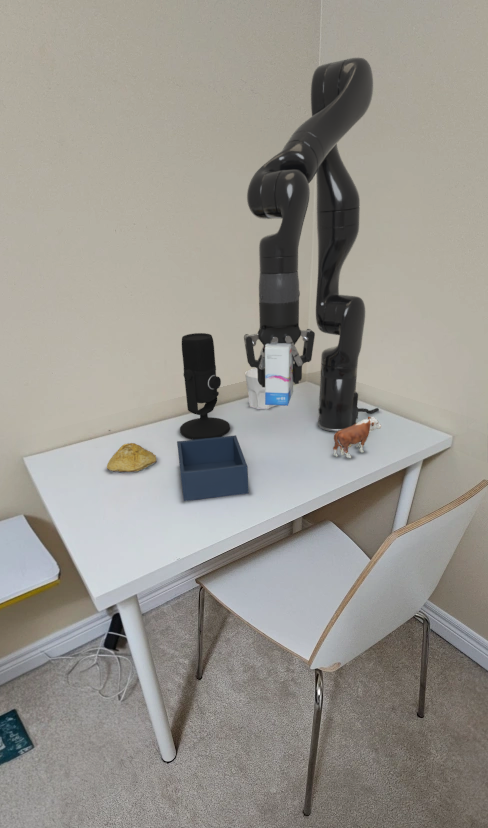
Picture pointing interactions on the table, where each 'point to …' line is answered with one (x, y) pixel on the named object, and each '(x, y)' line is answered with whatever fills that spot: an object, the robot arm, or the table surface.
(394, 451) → the table surface
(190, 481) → the box
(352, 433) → the bull figurine
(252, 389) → the cup
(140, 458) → the fossil
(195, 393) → the microphone
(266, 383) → the ink box
